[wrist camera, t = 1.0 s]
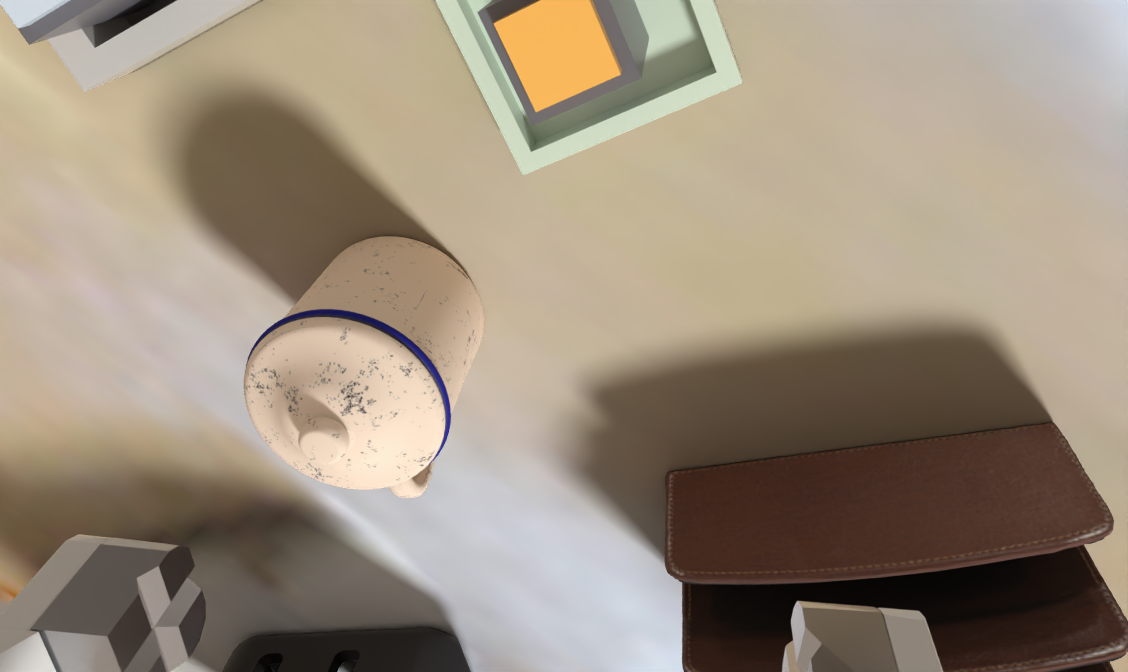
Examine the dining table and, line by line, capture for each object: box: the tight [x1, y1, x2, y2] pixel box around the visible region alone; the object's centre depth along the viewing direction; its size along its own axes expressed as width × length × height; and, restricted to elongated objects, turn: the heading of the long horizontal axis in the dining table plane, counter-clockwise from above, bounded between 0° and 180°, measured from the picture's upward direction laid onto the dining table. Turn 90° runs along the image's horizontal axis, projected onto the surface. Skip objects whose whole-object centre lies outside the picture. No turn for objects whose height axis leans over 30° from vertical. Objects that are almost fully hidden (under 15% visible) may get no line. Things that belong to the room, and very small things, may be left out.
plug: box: [477, 0, 649, 126], centre depth 31 cm, size 4×4×8 cm
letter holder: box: [665, 423, 1128, 672], centre depth 41 cm, size 10×20×14 cm, turn 105°
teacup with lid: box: [244, 236, 484, 498], centre depth 39 cm, size 12×9×12 cm
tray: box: [435, 0, 743, 175], centre depth 34 cm, size 10×10×2 cm
